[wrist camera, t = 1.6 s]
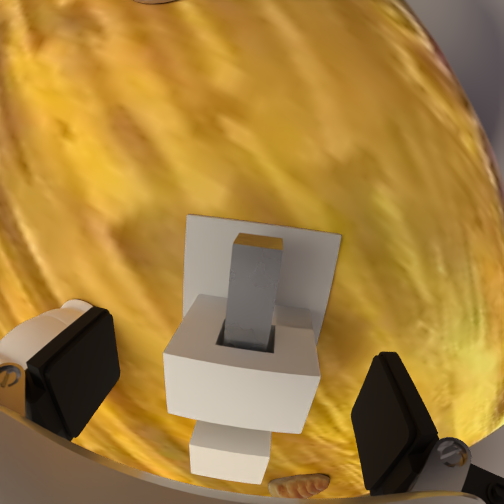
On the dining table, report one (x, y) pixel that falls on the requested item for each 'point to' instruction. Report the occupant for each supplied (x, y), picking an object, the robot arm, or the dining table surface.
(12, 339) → the jar
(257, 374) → the bearing block
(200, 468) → the block
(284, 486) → the pastry
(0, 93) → the dining table surface
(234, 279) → the shaft
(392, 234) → the dining table surface
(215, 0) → the dining table surface
